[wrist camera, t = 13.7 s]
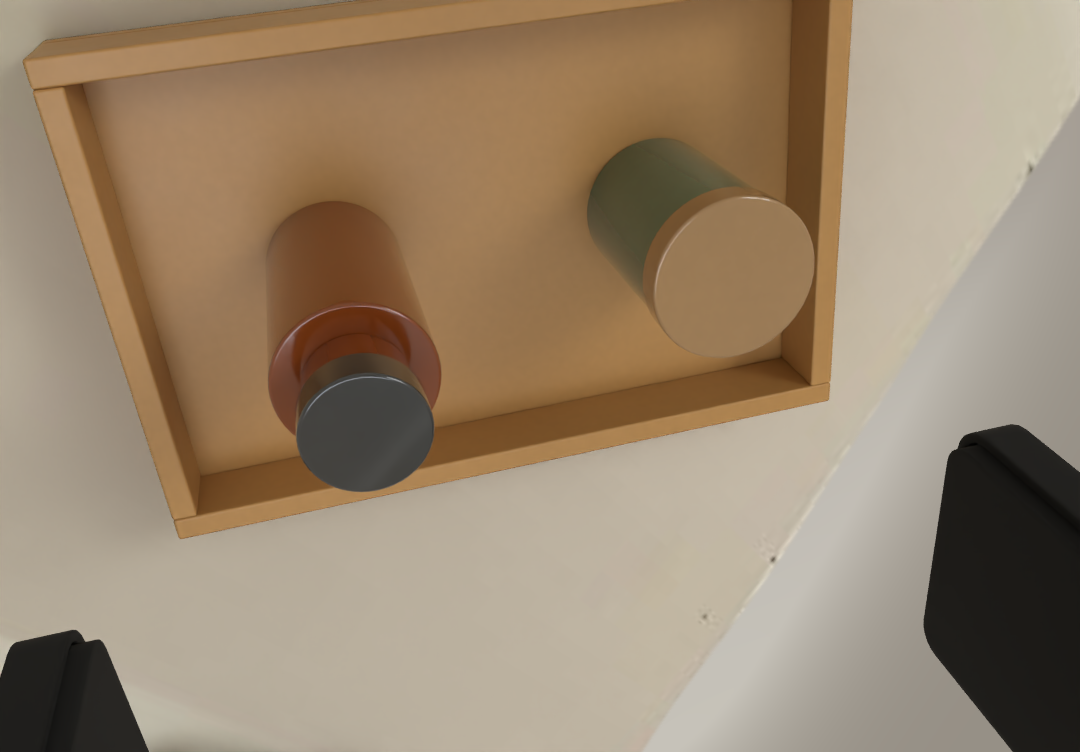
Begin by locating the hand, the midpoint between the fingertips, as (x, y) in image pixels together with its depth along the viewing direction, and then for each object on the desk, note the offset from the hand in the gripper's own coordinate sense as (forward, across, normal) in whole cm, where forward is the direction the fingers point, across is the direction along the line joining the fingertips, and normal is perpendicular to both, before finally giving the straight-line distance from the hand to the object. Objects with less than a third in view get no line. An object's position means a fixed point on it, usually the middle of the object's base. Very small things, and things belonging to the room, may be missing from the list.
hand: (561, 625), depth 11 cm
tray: (+24, -3, +5) cm, 25 cm away
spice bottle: (+23, +2, +5) cm, 24 cm away
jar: (+23, -9, +5) cm, 26 cm away
